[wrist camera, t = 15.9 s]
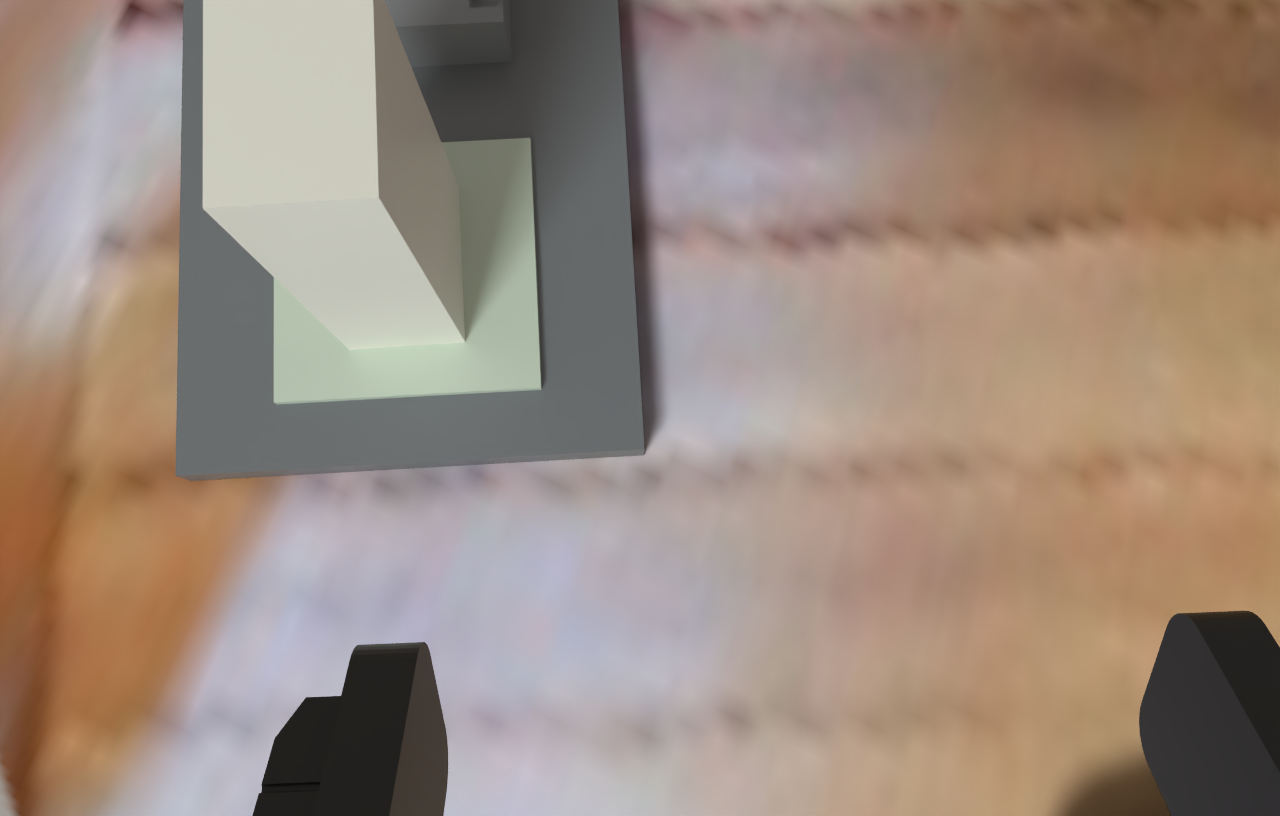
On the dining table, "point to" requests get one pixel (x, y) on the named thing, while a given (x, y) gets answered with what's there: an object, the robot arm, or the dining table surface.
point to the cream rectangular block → (332, 167)
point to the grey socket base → (491, 266)
